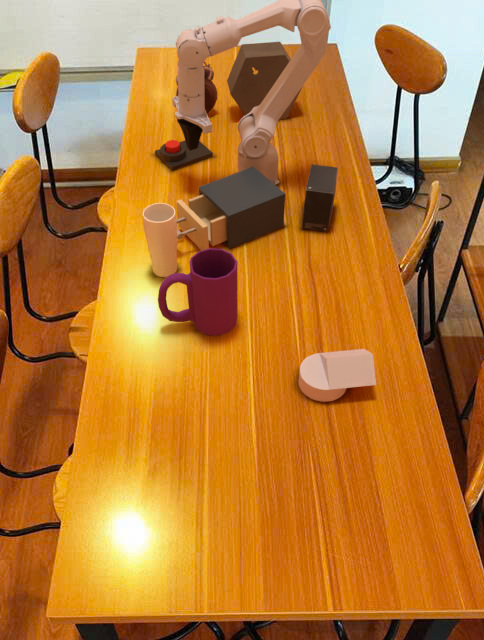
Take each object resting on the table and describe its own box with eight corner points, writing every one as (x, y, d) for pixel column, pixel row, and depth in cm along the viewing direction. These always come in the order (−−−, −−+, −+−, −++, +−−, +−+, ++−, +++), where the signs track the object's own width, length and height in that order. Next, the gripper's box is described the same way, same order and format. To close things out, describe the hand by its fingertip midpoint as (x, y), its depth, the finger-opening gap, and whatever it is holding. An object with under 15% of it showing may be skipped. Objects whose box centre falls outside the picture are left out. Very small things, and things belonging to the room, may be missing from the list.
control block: (195, 141, 182) (194, 130, 180) (212, 156, 177) (212, 146, 175) (154, 155, 178) (153, 144, 176) (171, 171, 173) (170, 160, 171)
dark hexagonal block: (307, 86, 190) (269, 23, 176) (313, 100, 185) (274, 36, 171) (256, 122, 196) (215, 64, 182) (260, 136, 191) (218, 78, 177)
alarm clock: (211, 108, 193) (210, 53, 181) (219, 115, 190) (217, 60, 179) (176, 117, 190) (171, 62, 178) (182, 125, 187) (179, 70, 176)
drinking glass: (185, 264, 151) (180, 205, 139) (173, 283, 147) (168, 225, 135) (156, 257, 152) (150, 199, 140) (144, 277, 148) (136, 218, 136)
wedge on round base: (361, 360, 132) (294, 367, 131) (366, 336, 126) (296, 342, 126) (373, 396, 126) (303, 403, 125) (379, 372, 121) (306, 379, 120)
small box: (329, 233, 157) (334, 193, 148) (300, 229, 158) (304, 190, 149) (334, 205, 163) (339, 166, 155) (306, 202, 164) (310, 163, 156)
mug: (241, 334, 137) (241, 276, 125) (163, 343, 135) (156, 286, 124) (233, 303, 142) (233, 244, 131) (159, 311, 141) (152, 253, 130)
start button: (175, 144, 176) (175, 138, 175) (182, 151, 174) (182, 144, 173) (163, 148, 175) (162, 142, 174) (170, 155, 173) (169, 149, 172)
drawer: (185, 261, 150) (183, 235, 144) (160, 233, 156) (157, 207, 151) (255, 232, 156) (256, 206, 150) (228, 207, 162) (228, 181, 157)
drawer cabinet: (229, 248, 154) (228, 215, 147) (200, 219, 161) (198, 186, 154) (283, 226, 158) (285, 193, 152) (252, 199, 165) (253, 166, 159)
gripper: (159, 81, 153) (162, 138, 163) (192, 110, 145) (193, 167, 156) (187, 74, 155) (188, 130, 166) (220, 101, 148) (219, 159, 158)
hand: (192, 148), depth 161 cm, fingers closed
